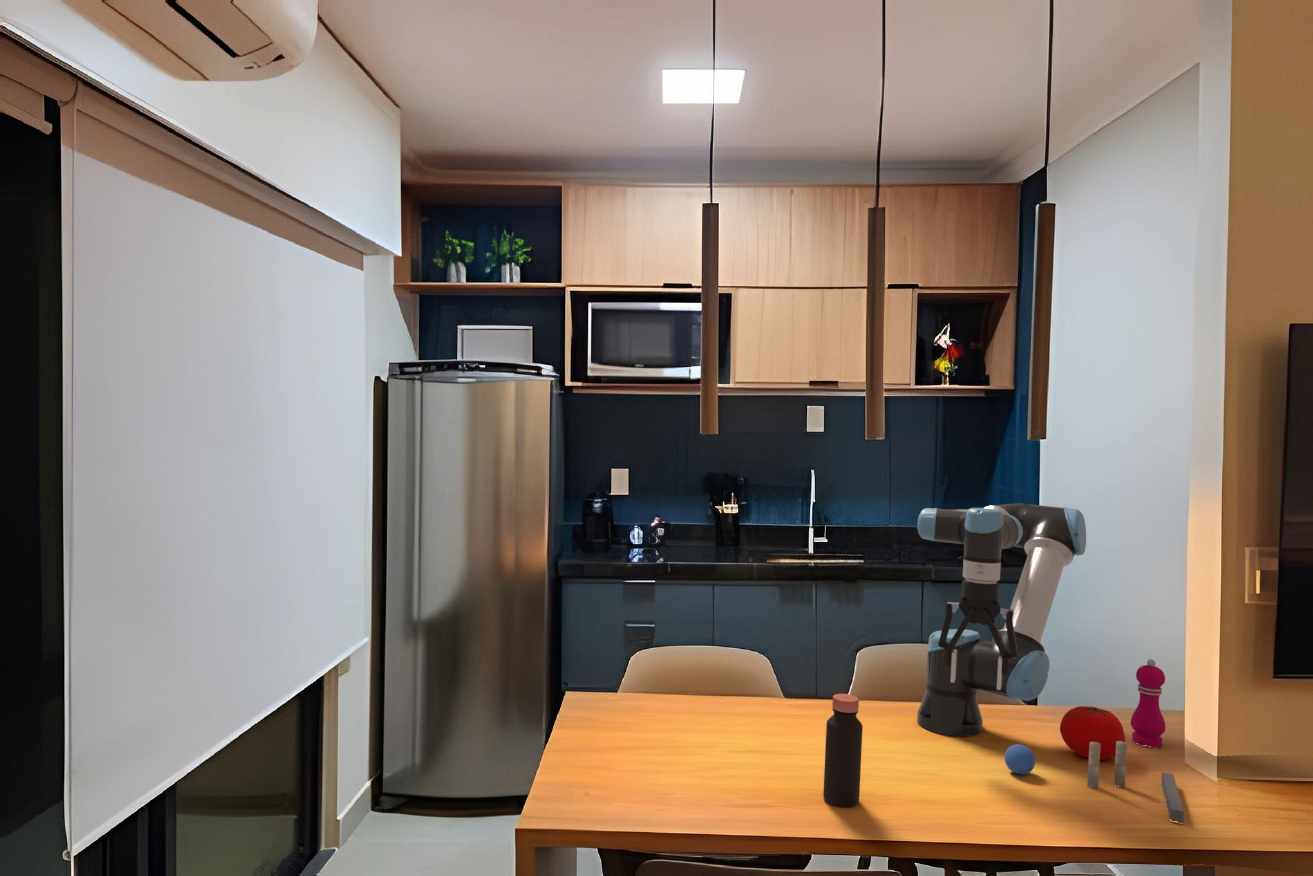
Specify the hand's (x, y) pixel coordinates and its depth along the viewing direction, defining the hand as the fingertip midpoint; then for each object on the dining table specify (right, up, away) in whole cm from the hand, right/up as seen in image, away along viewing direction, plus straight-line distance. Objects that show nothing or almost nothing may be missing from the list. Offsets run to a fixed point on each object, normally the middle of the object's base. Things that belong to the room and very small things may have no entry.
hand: (975, 684), depth 190 cm
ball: (+8, -15, -4) cm, 17 cm away
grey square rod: (+33, -19, -16) cm, 41 cm away
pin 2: (+27, -19, -8) cm, 34 cm away
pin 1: (+21, -18, -9) cm, 29 cm away
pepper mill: (+47, -19, +18) cm, 54 cm away
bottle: (-33, -17, -21) cm, 43 cm away
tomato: (+29, -19, +8) cm, 36 cm away
